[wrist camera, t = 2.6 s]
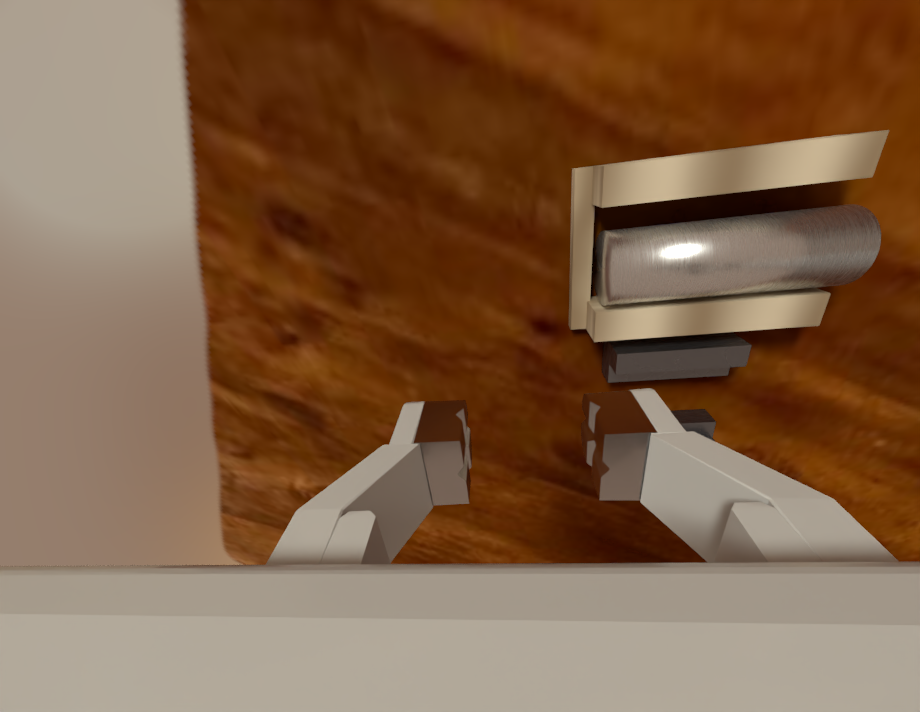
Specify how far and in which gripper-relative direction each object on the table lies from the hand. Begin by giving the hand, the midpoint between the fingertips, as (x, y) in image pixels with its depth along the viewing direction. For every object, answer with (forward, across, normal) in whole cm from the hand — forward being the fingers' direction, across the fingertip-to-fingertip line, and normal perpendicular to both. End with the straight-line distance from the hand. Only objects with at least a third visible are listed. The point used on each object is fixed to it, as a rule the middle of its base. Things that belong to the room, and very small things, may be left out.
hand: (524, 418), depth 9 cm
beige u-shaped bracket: (+17, -12, 0) cm, 21 cm away
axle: (+15, -12, +1) cm, 20 cm away
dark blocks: (+17, -11, +11) cm, 23 cm away
